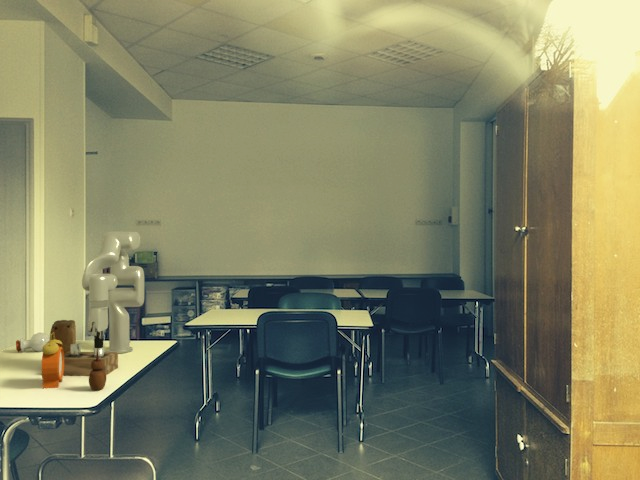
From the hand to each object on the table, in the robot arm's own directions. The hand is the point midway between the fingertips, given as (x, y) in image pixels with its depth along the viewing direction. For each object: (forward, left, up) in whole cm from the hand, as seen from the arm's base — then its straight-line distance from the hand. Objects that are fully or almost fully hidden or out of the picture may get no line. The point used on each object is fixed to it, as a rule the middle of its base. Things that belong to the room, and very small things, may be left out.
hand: (98, 347), depth 231 cm
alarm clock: (+19, -10, -11) cm, 24 cm away
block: (-11, -21, -11) cm, 26 cm away
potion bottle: (-39, -49, -11) cm, 64 cm away
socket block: (-1, -6, -11) cm, 12 cm away
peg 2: (0, 0, -7) cm, 7 cm away
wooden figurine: (+25, +10, -11) cm, 29 cm away
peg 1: (0, -10, -5) cm, 11 cm away
